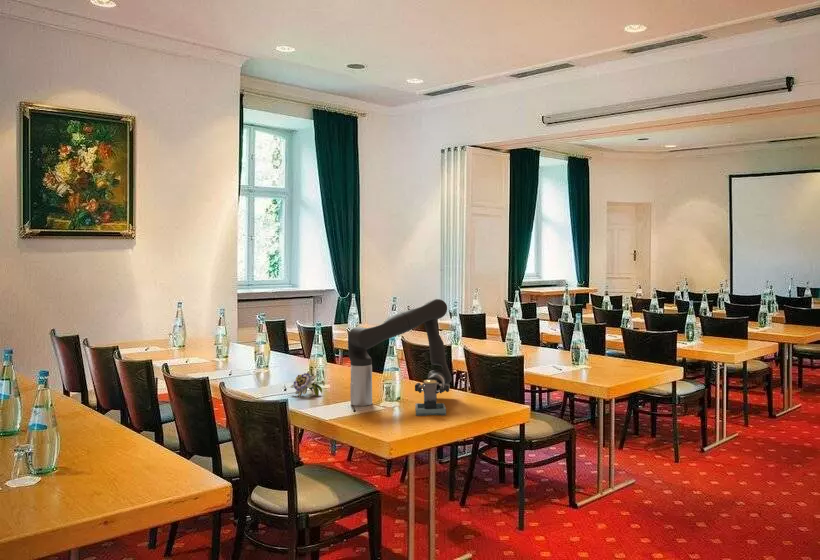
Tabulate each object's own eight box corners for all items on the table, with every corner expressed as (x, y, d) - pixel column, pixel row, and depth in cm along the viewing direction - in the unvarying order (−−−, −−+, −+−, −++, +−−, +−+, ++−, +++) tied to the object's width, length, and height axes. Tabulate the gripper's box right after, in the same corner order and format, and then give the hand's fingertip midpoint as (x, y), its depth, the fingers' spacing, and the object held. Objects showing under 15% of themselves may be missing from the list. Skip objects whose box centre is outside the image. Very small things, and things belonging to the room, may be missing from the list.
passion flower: (300, 409, 332) (283, 385, 333) (315, 399, 342) (299, 376, 344) (316, 396, 325) (299, 372, 327) (332, 387, 336) (315, 363, 337)
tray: (416, 415, 290) (416, 409, 290) (415, 409, 302) (415, 403, 302) (446, 415, 290) (446, 409, 290) (444, 409, 302) (444, 403, 302)
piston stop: (424, 411, 293) (424, 381, 293) (423, 408, 298) (423, 379, 298) (437, 411, 293) (436, 381, 293) (436, 408, 299) (436, 379, 298)
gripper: (418, 374, 313) (412, 381, 296) (451, 375, 310) (447, 381, 294) (418, 391, 313) (413, 399, 297) (451, 392, 311) (447, 400, 295)
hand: (430, 390), depth 296 cm, fingers open, 8 cm apart
